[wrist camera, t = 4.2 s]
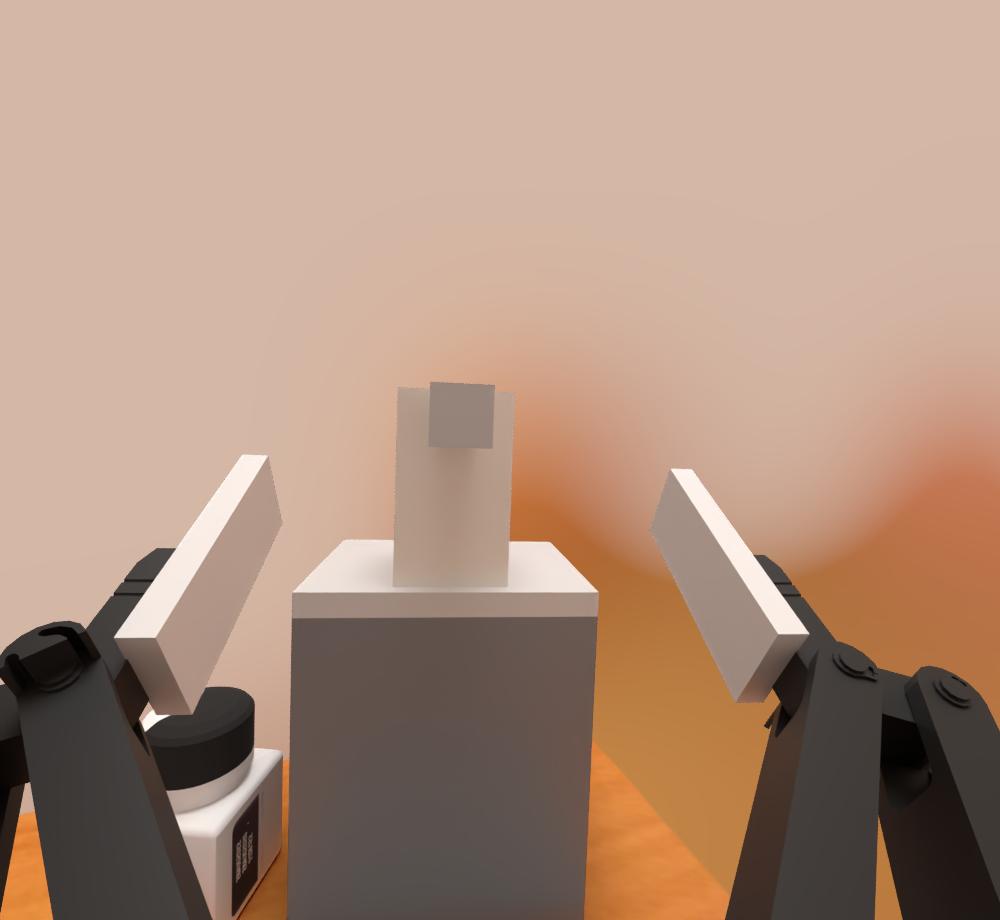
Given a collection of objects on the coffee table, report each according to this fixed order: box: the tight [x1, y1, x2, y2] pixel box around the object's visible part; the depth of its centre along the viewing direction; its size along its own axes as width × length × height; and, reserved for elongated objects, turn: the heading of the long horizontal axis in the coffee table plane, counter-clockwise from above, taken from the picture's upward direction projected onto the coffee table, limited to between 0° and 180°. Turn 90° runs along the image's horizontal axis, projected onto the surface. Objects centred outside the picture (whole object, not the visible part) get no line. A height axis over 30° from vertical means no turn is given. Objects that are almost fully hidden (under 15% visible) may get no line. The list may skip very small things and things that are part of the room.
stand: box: [287, 540, 599, 920], centre depth 36 cm, size 14×18×22 cm
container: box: [141, 687, 283, 920], centre depth 32 cm, size 8×8×13 cm
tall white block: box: [393, 382, 515, 587], centre depth 27 cm, size 18×7×12 cm, turn 6°
